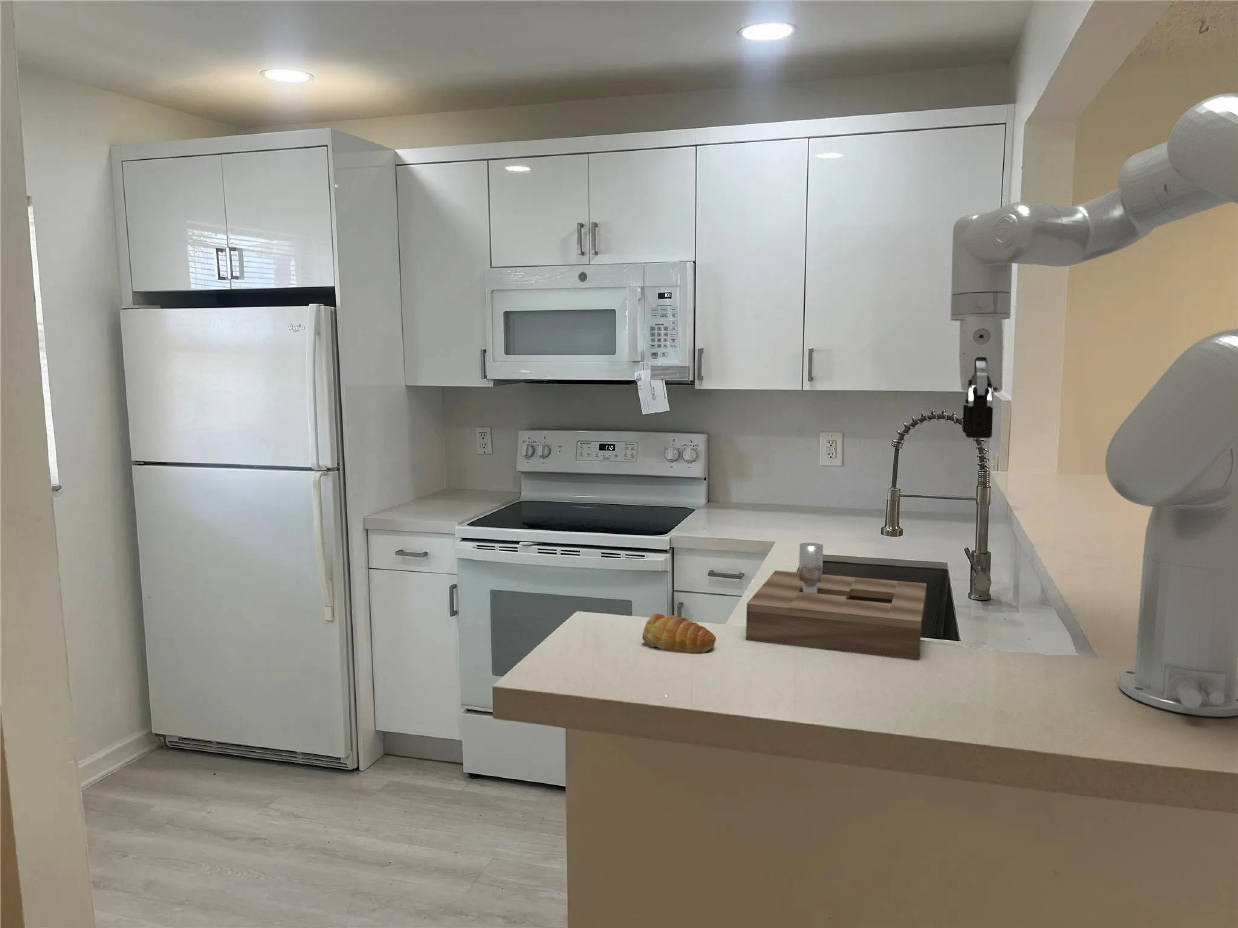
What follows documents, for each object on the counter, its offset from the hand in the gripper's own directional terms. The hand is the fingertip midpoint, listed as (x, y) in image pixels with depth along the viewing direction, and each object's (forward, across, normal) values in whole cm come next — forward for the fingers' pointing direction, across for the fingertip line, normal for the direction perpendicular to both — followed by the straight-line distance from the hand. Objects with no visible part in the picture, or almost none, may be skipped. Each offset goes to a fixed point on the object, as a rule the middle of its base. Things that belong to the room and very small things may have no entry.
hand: (976, 435), depth 122 cm
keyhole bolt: (+27, -6, +22) cm, 35 cm away
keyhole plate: (+27, -6, +18) cm, 33 cm away
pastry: (+27, -20, +37) cm, 50 cm away
